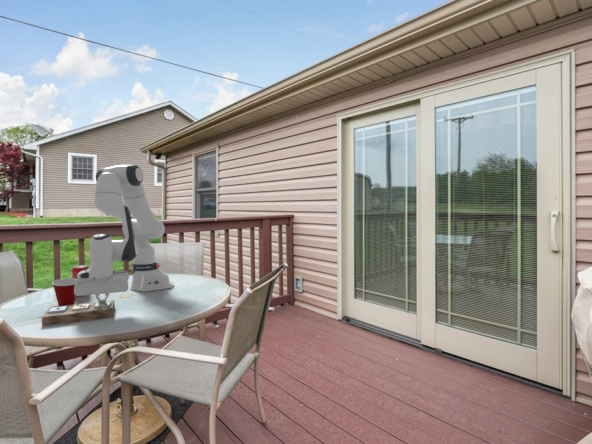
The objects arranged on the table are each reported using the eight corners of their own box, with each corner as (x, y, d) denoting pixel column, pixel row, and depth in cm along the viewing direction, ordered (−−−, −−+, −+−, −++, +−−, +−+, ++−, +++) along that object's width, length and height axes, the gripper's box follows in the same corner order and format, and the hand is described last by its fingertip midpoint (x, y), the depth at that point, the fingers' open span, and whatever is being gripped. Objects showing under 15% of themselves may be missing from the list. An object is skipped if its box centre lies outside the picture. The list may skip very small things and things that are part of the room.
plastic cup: (59, 311, 145) (58, 284, 145) (47, 307, 151) (47, 281, 150) (85, 305, 154) (84, 280, 154) (74, 301, 160) (73, 277, 159)
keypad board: (114, 307, 151) (114, 300, 151) (112, 317, 139) (112, 309, 139) (50, 314, 141) (50, 306, 141) (42, 326, 128) (41, 317, 128)
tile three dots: (89, 310, 143) (89, 303, 143) (87, 314, 139) (87, 306, 138) (74, 312, 141) (74, 304, 141) (72, 316, 136) (72, 308, 136)
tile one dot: (67, 312, 140) (67, 305, 140) (65, 317, 135) (64, 309, 135) (51, 314, 138) (51, 307, 137) (48, 318, 133) (48, 311, 133)
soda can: (68, 295, 170) (68, 266, 169) (84, 291, 177) (83, 264, 176) (77, 297, 167) (76, 268, 166) (93, 293, 174) (92, 265, 173)
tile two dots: (110, 308, 147) (110, 301, 147) (109, 311, 142) (109, 304, 142) (96, 309, 145) (96, 302, 144) (94, 313, 140) (94, 306, 139)
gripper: (129, 268, 150) (129, 298, 150) (75, 272, 141) (76, 304, 142) (128, 271, 144) (129, 302, 145) (72, 275, 135) (73, 308, 136)
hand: (102, 303), depth 143 cm, fingers closed, pressing on tile two dots
